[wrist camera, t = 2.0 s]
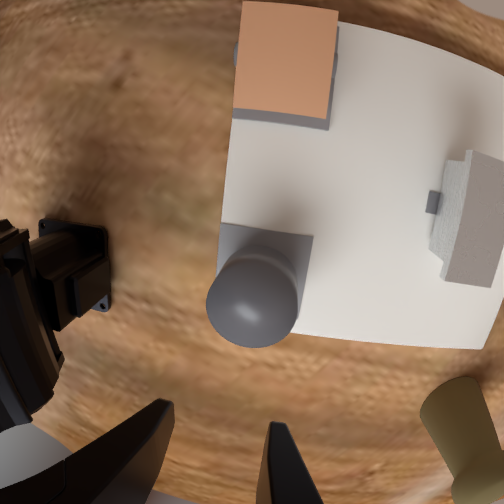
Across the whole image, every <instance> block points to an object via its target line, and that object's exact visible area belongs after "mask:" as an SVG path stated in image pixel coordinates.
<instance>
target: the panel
mask: <svg viewBox="0 0 504 504" xmlns="http://www.w3.org/2000/svg"><path fill="white" fill-rule="evenodd" d="M334 53H338V63H337V70H336V75H335V78H331V85H330V93H329V100H328V108H327V115H326V119H322V118H316V117H310V116H303V115H296V114H289V113H281V112H273V111H264V110H254V109H244V108H233V115H232V126H231V134H230V143H229V151H228V160H227V169H226V179H225V188H224V198H223V208H222V218H221V225H220V236H219V247H218V258H217V270H216V277H217V275H218V274H219V272H220V270H221V269H222V267H223V265H224V264H225V262H226V261H227V259H228V258H229V257H230V256H231V255H232V254H233V253H235V252H236V251H238V250H240V249H242V248H245V247H249V246H266V247H270V248H273V249H275V250H277V251H279V252H280V253H282V254H283V255H284V256H285V257H287V258H288V260H289V261H290V262H291V264H292V265H293V267H294V269H295V272H296V275H297V286H298V313H297V319H296V322H295V324H294V327H293V328H292V330H291V331H290V332H292V333H299V334H306V335H314V336H322V337H330V338H338V339H347V340H356V341H365V342H375V343H386V344H397V345H410V346H423V347H439V348H459V349H482V348H483V346H484V344H485V342H486V340H487V337H488V335H489V333H490V330H491V328H492V326H493V323H494V321H495V318H496V316H497V313H498V311H499V308H500V306H501V303H502V300H503V297H504V246H503V250H502V253H501V257H500V260H499V264H498V267H497V270H496V274H495V277H494V280H493V283H492V286H491V288H486V287H480V286H473V285H466V284H460V283H453V282H447V281H444V280H443V279H442V278H441V277H440V273H441V269H442V266H443V261H442V260H441V259H440V258H439V257H437V256H436V255H435V254H434V253H433V252H431V251H430V250H429V249H428V248H429V244H430V240H431V236H432V232H433V227H434V223H435V218H436V214H437V209H438V204H439V199H440V193H441V188H442V182H443V176H444V170H445V163H446V160H453V161H462V162H465V156H466V150H475V151H477V152H480V153H483V154H486V155H488V156H491V157H494V158H496V159H499V160H501V161H504V76H502V75H500V74H498V73H496V72H494V71H492V70H490V69H488V68H486V67H483V66H481V65H479V64H477V63H474V62H472V61H470V60H467V59H465V58H463V57H460V56H458V55H455V54H453V53H450V52H447V51H445V50H442V49H439V48H437V47H434V46H431V45H428V44H425V43H422V42H419V41H416V40H413V39H409V38H406V37H403V36H399V35H396V34H392V33H388V32H385V31H381V30H377V29H373V28H368V27H364V26H360V25H355V24H350V23H345V22H340V21H338V23H337V33H336V42H335V52H334Z"/></svg>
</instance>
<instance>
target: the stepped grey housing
mask: <svg viewBox="0 0 504 504" xmlns="http://www.w3.org/2000/svg"><path fill="white" fill-rule="evenodd" d="M503 246H504V161H501V160H499V159H496V158H494V157H491V156H488V155H486V154H483V153H480V152H477V151H475V150H466V156H465V162H462V161H453V160H446V163H445V170H444V176H443V182H442V188H441V193H440V199H439V204H438V209H437V214H436V218H435V223H434V227H433V232H432V236H431V240H430V244H429V248H428V249H429V250H430V251H431V252H433V253H434V254H435V255H436V256H437V257H439V258H440V259H441V260H442V261H443V266H442V269H441V273H440V277H441V278H442V279H443V280H444V281H447V282H453V283H460V284H466V285H473V286H480V287H486V288H491V286H492V283H493V280H494V277H495V274H496V270H497V267H498V264H499V260H500V257H501V253H502V250H503Z"/></svg>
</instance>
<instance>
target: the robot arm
mask: <svg viewBox="0 0 504 504" xmlns="http://www.w3.org/2000/svg"><path fill="white" fill-rule="evenodd" d="M44 224H45V226H44ZM38 226H39V238H37V239H35V240H33V241H31V242H29V238H30V236H29V231H28V229H18V228H15V227H13V226H12V224H11V223H10V222H9V221H8V219H3V220H0V433H1V432H2V431H4V430H6V429H9V428H11V427H14V426H16V425H22V424H27V423H31V422H32V421H33V418H32V417H31V415H32V414H33V413H35V412H37V411H38V410H40V409H41V408H42V407H43V406H44V405H46V404H47V403H48V402H49V401H50V400H51V398H52V397H53V395H54V391H53V388H54V386H55V384H56V382H57V380H58V378H59V372H60V369H61V367H62V365H63V362H64V360H65V358H64V356H63V353H62V351H60V349H59V346H58V343H57V341H56V338H55V335H54V332H53V330H55V331H58V332H60V331H61V330H62V329H63V328H65V327H66V326H67V325H68V324H69V323H70V322H71V321H73V320H74V319H75V318H76V317H79V318H80V317H82V316H83V315H84V314H85V313H86V312H87V311H89V310H90V309H93V310H97V311H101V312H107V311H108V310H109V309H110V308H111V302H110V291H111V286H110V267H109V259H108V241H107V231H106V229H105V228H104V227H102V226H97V225H90V224H83V223H76V222H69V221H62V220H56V219H49V218H43V219H41V220H40V221H39V224H38ZM99 232H101V236H100V235H99ZM102 303H103V304H104V305H105V307H104V306H103V304H102ZM174 423H175V418H174V404H173V402H172V401H169V400H165V399H162V398H158V399H156V400H155V401H153V402H152V403H150V404H149V405H147V406H146V407H145V408H143V409H142V410H140V411H139V412H137V413H136V414H134V415H133V416H131V417H130V418H128V419H127V420H125V421H124V422H122V423H121V424H119V425H118V426H116V427H115V428H113V429H111V430H110V431H108V432H107V433H105V434H104V435H102V436H101V437H99V438H97V439H96V440H94V441H93V442H91V443H90V444H88V445H86V446H85V447H83V448H82V449H80V450H78V451H77V452H75V453H73V454H72V455H70V456H69V457H67V458H65V461H64V460H62V461H60V462H58V463H57V464H55V465H53V466H51V467H50V468H48V469H46V470H44V471H42V472H41V473H38V474H36V475H34V476H32V477H30V478H27V479H25V480H23V481H20V482H18V483H15V484H13V485H10V486H7V487H5V488H2V489H0V504H145V503H146V501H147V498H148V496H149V494H150V492H151V490H152V488H153V486H154V484H155V481H156V479H157V477H158V475H159V472H160V470H161V467H162V464H163V460H164V457H165V454H166V451H167V447H168V444H169V441H170V438H171V434H172V431H173V428H174ZM256 504H324V503H323V501H322V499H321V497H320V495H319V493H318V490H317V488H316V486H315V484H314V482H313V480H312V478H311V476H310V474H309V472H308V470H307V467H306V465H305V463H304V461H303V459H302V457H301V455H300V452H299V450H298V448H297V446H296V444H295V442H294V439H293V437H292V435H291V433H290V431H289V429H288V426H287V425H286V423H283V422H276V421H272V422H270V424H269V428H268V431H267V435H266V439H265V444H264V450H263V456H262V462H261V468H260V474H259V479H258V485H257V492H256Z"/></svg>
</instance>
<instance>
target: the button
mask: <svg viewBox="0 0 504 504" xmlns="http://www.w3.org/2000/svg"><path fill="white" fill-rule="evenodd" d="M206 310H207V314H208V318H209V320H210V322H211V324H212V326H213V327H214V328H215V330H216V331H217V332H218V333H219V334H220V335H221V336H222V337H224V338H225V339H226V340H228V341H230V342H232V343H234V344H236V345H239V346H243V347H248V348H261V347H267V346H270V345H273V344H275V343H277V342H279V341H281V340H282V339H283V338H285V337H286V336H287V335H288V334H289V332H290V331H291V330H292V328H293V327H294V324H295V322H296V319H297V313H298V286H297V275H296V272H295V269H294V267H293V265H292V264H291V262H290V261H289V260H288V258H287V257H285V256H284V255H283V254H282V253H280V252H279V251H277V250H275V249H273V248H270V247H266V246H249V247H245V248H242V249H240V250H238V251H236V252H235V253H233V254H232V255H231V256H230V257H229V258H228V259H227V261H226V262H225V264H224V265H223V267H222V269H221V270H220V272H219V274H218V275H217V277H216V279H215V281H214V282H213V284H212V286H211V287H210V289H209V292H208V295H207V299H206Z"/></svg>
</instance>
